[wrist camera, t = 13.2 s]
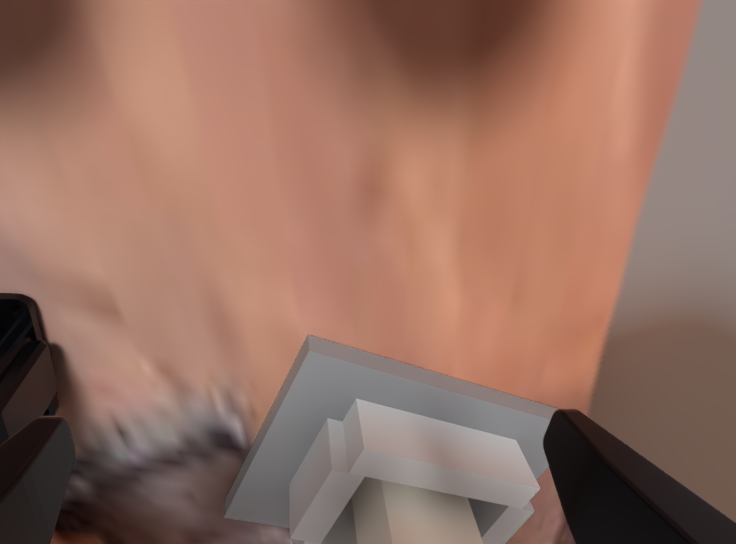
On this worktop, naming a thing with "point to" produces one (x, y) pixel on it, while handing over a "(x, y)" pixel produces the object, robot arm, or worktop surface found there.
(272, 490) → the hinge base
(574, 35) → the worktop surface
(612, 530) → the robot arm
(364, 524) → the cream rectangular block
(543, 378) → the worktop surface
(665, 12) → the worktop surface
